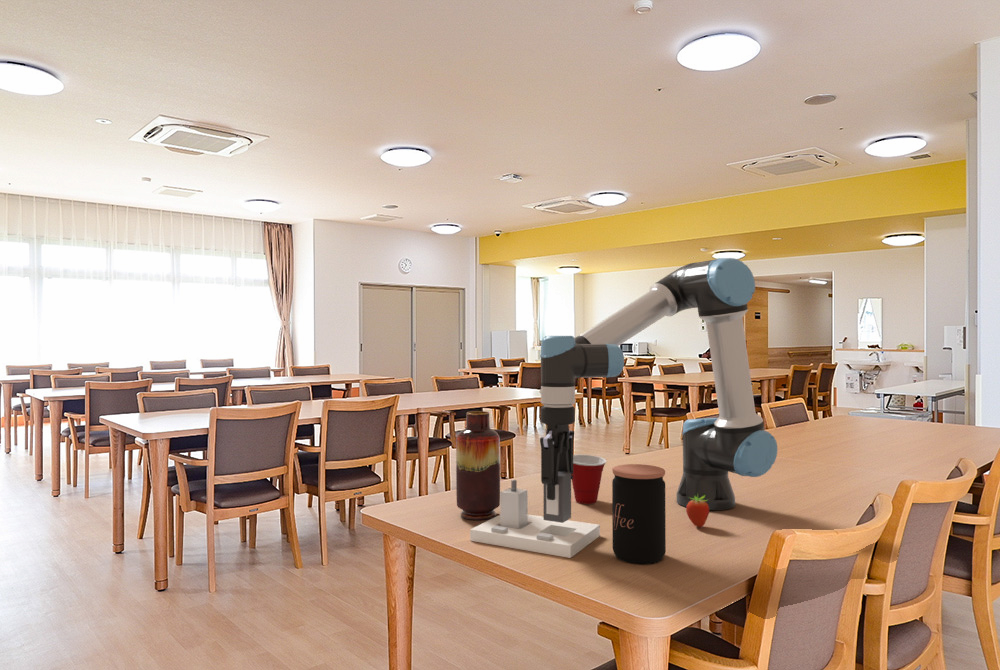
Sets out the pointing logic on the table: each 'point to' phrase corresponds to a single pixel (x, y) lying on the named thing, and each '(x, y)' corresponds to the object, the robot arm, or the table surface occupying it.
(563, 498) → the dark grey block
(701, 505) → the fruit
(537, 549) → the white peg board
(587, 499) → the plastic cup
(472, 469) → the vase
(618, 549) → the coffee jar
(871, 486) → the table surface
